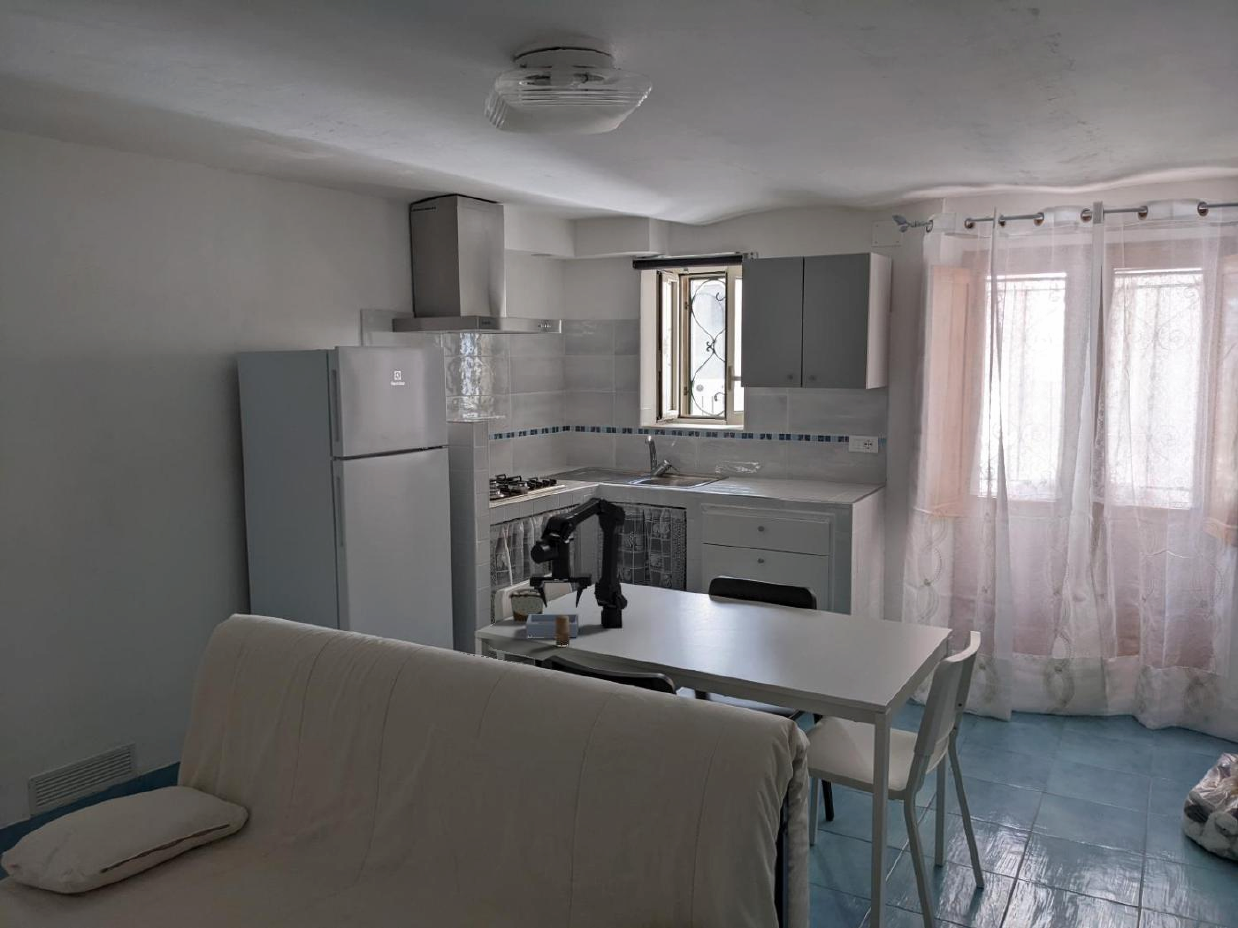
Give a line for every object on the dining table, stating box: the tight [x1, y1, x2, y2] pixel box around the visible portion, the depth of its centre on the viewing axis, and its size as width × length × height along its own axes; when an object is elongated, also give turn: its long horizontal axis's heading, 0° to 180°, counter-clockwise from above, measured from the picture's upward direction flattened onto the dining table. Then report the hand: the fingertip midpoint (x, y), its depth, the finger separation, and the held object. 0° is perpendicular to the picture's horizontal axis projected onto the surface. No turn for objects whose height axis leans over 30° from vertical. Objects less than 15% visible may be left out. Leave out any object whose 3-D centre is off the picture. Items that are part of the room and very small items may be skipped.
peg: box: [555, 615, 570, 646], centre depth 291 cm, size 4×4×9 cm
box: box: [525, 613, 580, 638], centre depth 304 cm, size 16×11×4 cm
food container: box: [508, 588, 544, 623], centre depth 318 cm, size 12×6×10 cm, turn 84°
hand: (561, 607), depth 291 cm, fingers open, 9 cm apart
